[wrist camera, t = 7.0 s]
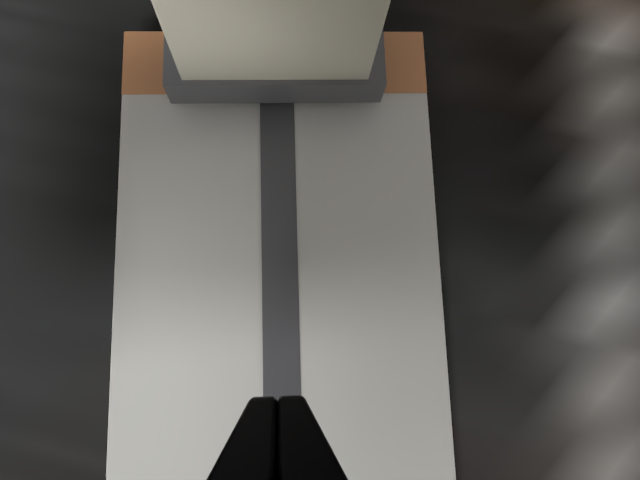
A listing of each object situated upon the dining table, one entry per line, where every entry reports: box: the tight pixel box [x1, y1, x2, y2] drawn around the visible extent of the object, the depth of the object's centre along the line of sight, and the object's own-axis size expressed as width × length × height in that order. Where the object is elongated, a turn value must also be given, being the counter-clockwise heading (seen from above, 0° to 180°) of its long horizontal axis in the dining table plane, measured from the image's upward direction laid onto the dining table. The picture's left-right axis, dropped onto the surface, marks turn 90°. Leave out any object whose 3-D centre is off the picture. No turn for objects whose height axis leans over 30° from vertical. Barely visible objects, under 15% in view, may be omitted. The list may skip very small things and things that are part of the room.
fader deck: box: [106, 31, 456, 480], centre depth 16 cm, size 15×9×2 cm, turn 2°
